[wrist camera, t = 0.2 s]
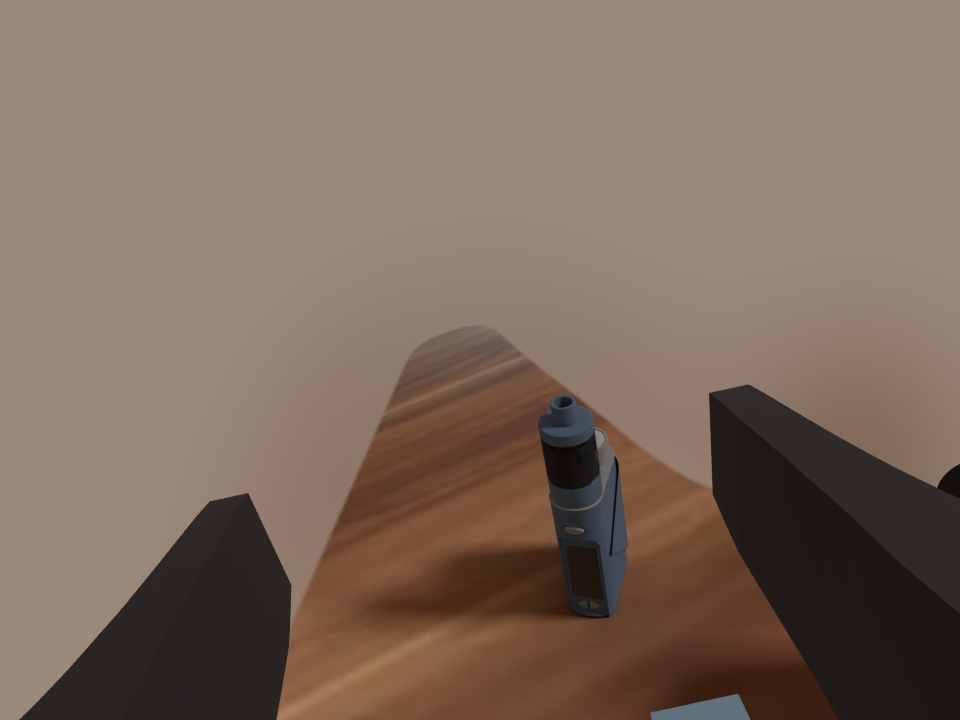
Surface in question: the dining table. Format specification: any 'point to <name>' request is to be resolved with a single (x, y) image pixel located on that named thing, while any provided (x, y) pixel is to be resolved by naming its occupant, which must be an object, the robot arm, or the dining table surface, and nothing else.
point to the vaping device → (585, 506)
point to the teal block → (706, 710)
